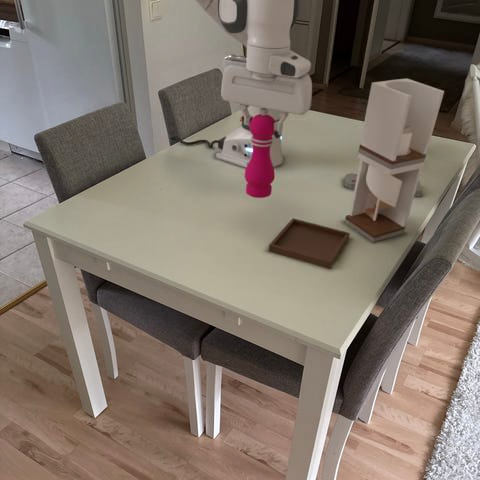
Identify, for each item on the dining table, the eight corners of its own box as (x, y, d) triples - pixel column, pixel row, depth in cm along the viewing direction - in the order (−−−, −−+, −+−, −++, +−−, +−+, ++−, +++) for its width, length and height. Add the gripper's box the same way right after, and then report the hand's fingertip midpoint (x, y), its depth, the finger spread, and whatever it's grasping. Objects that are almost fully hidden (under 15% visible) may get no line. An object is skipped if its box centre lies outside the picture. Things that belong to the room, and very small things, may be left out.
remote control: (420, 197, 146) (422, 190, 144) (344, 188, 148) (345, 181, 147) (417, 186, 152) (419, 179, 150) (344, 177, 154) (346, 171, 153)
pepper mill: (277, 190, 121) (285, 105, 109) (266, 201, 116) (273, 114, 103) (251, 183, 124) (255, 100, 111) (239, 195, 118) (242, 109, 106)
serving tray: (268, 251, 119) (269, 244, 118) (292, 224, 130) (292, 218, 129) (329, 268, 114) (330, 262, 113) (348, 239, 125) (349, 232, 124)
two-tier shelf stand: (344, 222, 132) (371, 82, 109) (374, 214, 136) (406, 78, 114) (372, 242, 124) (408, 96, 102) (403, 233, 128) (444, 91, 106)
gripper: (216, 55, 102) (215, 123, 111) (308, 70, 96) (299, 140, 105) (229, 50, 106) (228, 115, 115) (318, 63, 100) (309, 132, 109)
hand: (263, 127), depth 110 cm, fingers closed on pepper mill, 6 cm apart
